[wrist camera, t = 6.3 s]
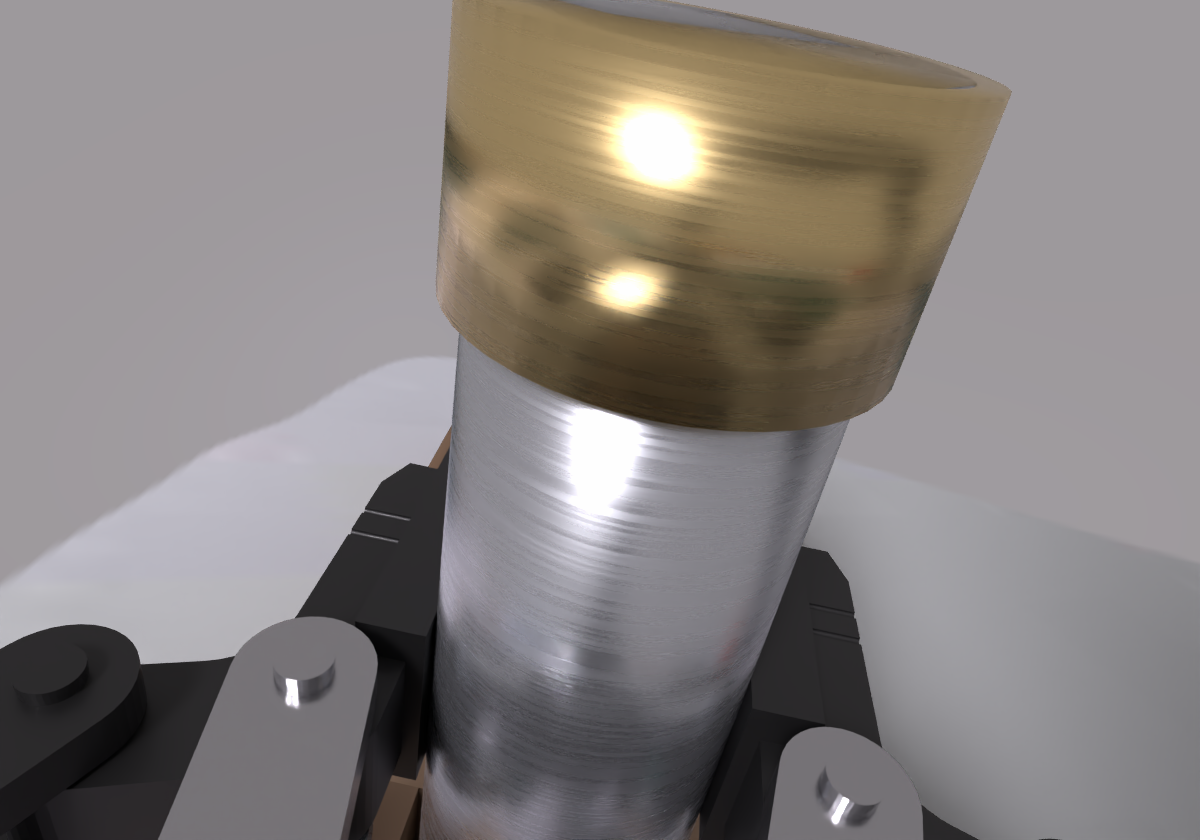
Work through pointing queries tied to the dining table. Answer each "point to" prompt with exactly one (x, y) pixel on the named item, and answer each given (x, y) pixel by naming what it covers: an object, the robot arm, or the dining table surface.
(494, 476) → the gold-capped metal cylinder
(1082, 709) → the dining table surface
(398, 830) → the stand
